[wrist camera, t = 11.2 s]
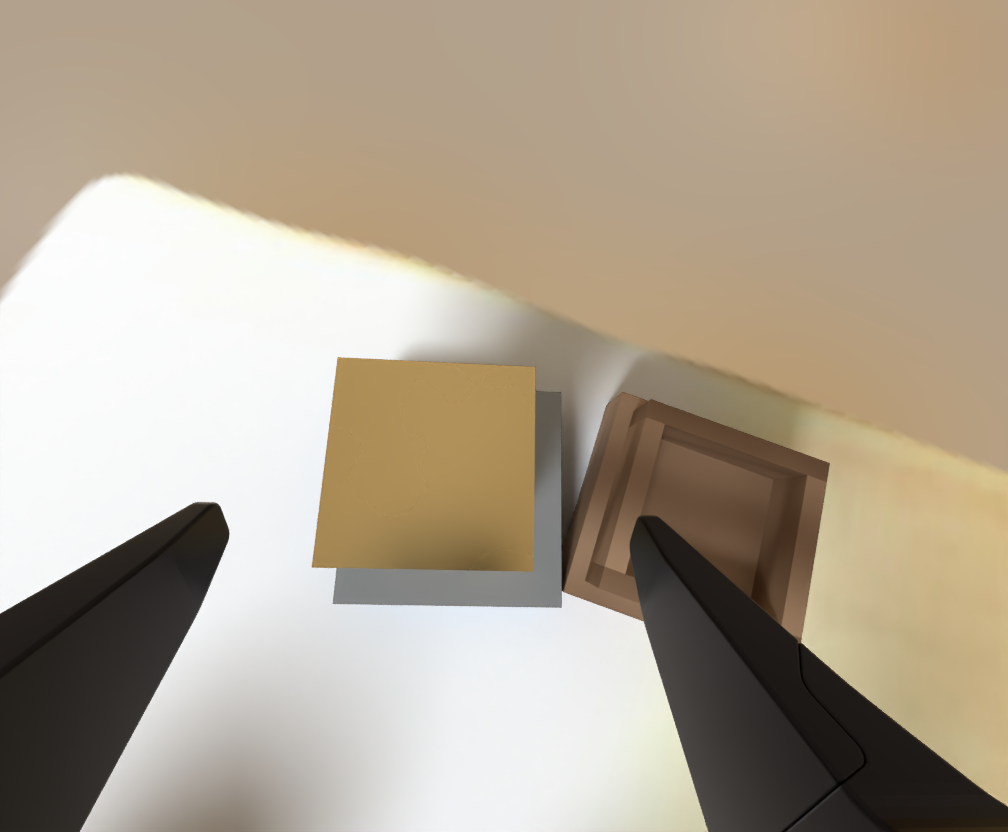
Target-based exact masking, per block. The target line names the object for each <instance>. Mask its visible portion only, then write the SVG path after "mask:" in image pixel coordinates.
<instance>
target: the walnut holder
mask: <svg viewBox="0 0 1008 832" xmlns="http://www.w3.org/2000/svg"><path fill="white" fill-rule="evenodd" d="M829 465H830V463H828V462H825V461H822V460H819V459H816V458H814V457H811V456H808V455H805V454H803V453H800V452H797V451H794V450H791V449H789V448H786V447H783V446H780V445H777V444H775V443H772V442H769V441H766V440H763V439H761V438H758V437H755V436H752V435H749V434H747V433H744V432H741V431H738V430H735V429H733V428H730V427H727V426H724V425H721V424H719V423H716V422H713V421H710V420H707V419H705V418H702V417H699V416H696V415H693V414H691V413H688V412H685V411H682V410H679V409H677V408H674V407H671V406H668V405H665V404H663V403H660V402H657V401H654V400H649V401H647V400H644V399H641V398H638V397H635V396H633V395H630V394H627V393H624V392H622V393H621V394H620V395H619V396H618V397H616V398H615V399H614V400H613V401H612V402H610V403H609V404H608V405H607V406H606V409H605V412H604V415H603V419H602V422H601V425H600V429H599V432H598V435H597V438H596V442H595V445H594V448H593V452H592V455H591V458H590V461H589V465H588V468H587V471H586V475H585V478H584V481H583V484H582V488H581V491H580V494H579V498H578V501H577V504H576V508H575V511H574V514H573V517H572V521H571V524H570V527H569V531H568V534H567V537H566V540H565V544H564V547H563V550H562V554H561V570H562V591H563V592H565V593H568V594H570V595H573V596H576V597H579V598H581V599H584V600H587V601H590V602H592V603H595V604H598V605H600V606H603V607H606V608H609V609H611V610H614V611H617V612H620V613H622V614H625V615H628V616H631V617H633V618H636V619H639V620H641V621H644V620H643V616H642V612H641V607H640V602H639V597H638V592H637V586H636V581H635V576H634V571H633V565H632V560H631V555H630V548H629V544H630V539H631V536H632V532H633V529H634V526H635V523H636V520H637V518H638V517H639V516H640V515H655V516H658V517H660V518H661V519H662V520H663V521H664V522H665V523H667V524H668V525H669V526H670V527H671V528H672V529H673V530H674V531H676V532H677V533H678V534H679V535H680V536H681V537H682V538H683V539H685V540H686V541H687V542H688V543H689V544H690V545H691V546H692V547H694V548H695V549H696V550H697V551H698V552H699V553H700V554H702V555H703V556H704V557H705V558H706V559H707V560H708V561H709V562H711V563H712V564H713V565H714V566H715V567H716V568H717V569H718V570H720V571H721V572H722V573H723V574H724V575H725V576H726V577H727V578H729V579H730V580H731V581H732V582H733V583H734V584H735V585H736V586H738V587H739V588H740V589H741V590H742V591H743V592H744V593H746V594H747V595H748V596H749V597H750V598H751V599H752V600H753V601H755V602H756V603H757V604H758V605H759V606H760V607H761V608H762V609H764V610H765V611H766V612H767V613H768V614H769V615H770V616H771V617H773V618H774V619H775V620H776V621H777V622H778V623H779V624H781V625H782V626H783V627H784V628H785V629H786V630H787V631H788V632H790V633H791V634H792V635H793V636H794V637H795V638H796V639H797V640H798V643H801V639H802V632H803V626H804V620H805V614H806V608H807V601H808V595H809V589H810V583H811V576H812V570H813V564H814V558H815V552H816V545H817V539H818V533H819V527H820V521H821V514H822V508H823V502H824V496H825V490H826V483H827V477H828V471H829Z"/></svg>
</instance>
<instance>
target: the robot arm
mask: <svg viewBox="0 0 1008 832" xmlns="http://www.w3.org/2000/svg"><path fill="white" fill-rule="evenodd" d="M228 540H229V528H228V526H227V523H226V520H225V518H224V515H223V512H222V510H221V507H220V506H219V505H218V504H217V503H214V502H196V503H193V504H191V505H189V506H187V507H186V508H184V509H182V510H180V511H179V512H177V513H175V514H173V515H172V516H170V517H168V518H166V519H165V520H163V521H161V522H159V523H158V524H156V525H154V526H152V527H151V528H149V529H147V530H145V531H144V532H142V533H140V534H139V535H137V536H135V537H133V538H132V539H130V540H128V541H126V542H125V543H123V544H121V545H119V546H118V547H116V548H114V549H112V550H111V551H109V552H107V553H105V554H104V555H102V556H100V557H98V558H97V559H95V560H93V561H91V562H90V563H88V564H86V565H84V566H83V567H81V568H79V569H77V570H76V571H74V572H72V573H70V574H69V575H67V576H65V577H63V578H62V579H60V580H58V581H56V582H55V583H53V584H51V585H49V586H48V587H46V588H44V589H42V590H41V591H39V592H37V593H35V594H34V595H32V596H30V597H28V598H27V599H25V600H23V601H21V602H20V603H18V604H16V605H15V606H13V607H11V608H9V609H8V610H6V611H4V612H2V613H1V614H0V832H80V830H81V828H82V827H83V825H84V823H85V821H86V819H87V817H88V816H89V814H90V812H91V810H92V808H93V806H94V804H95V803H96V801H97V799H98V797H99V795H100V793H101V791H102V790H103V788H104V786H105V784H106V782H107V780H108V779H109V777H110V775H111V773H112V771H113V769H114V767H115V766H116V764H117V762H118V760H119V758H120V756H121V754H122V753H123V751H124V749H125V747H126V745H127V743H128V741H129V740H130V738H131V736H132V734H133V732H134V730H135V729H136V727H137V725H138V723H139V721H140V719H141V717H142V716H143V714H144V712H145V710H146V708H147V706H148V704H149V703H150V701H151V699H152V697H153V695H154V693H155V692H156V690H157V688H158V686H159V684H160V682H161V680H162V679H163V677H164V675H165V673H166V671H167V669H168V667H169V666H170V664H171V662H172V660H173V658H174V656H175V655H176V653H177V651H178V649H179V647H180V645H181V643H182V642H183V640H184V638H185V636H186V634H187V632H188V630H189V629H190V627H191V625H192V623H193V621H194V619H195V617H196V615H197V613H198V611H199V609H200V607H201V605H202V603H203V601H204V598H205V596H206V594H207V591H208V589H209V586H210V584H211V581H212V579H213V577H214V574H215V572H216V569H217V567H218V565H219V562H220V560H221V557H222V555H223V552H224V550H225V548H226V545H227V543H228ZM629 548H630V555H631V560H632V565H633V571H634V576H635V581H636V586H637V592H638V597H639V602H640V607H641V612H642V616H643V620H644V624H645V627H646V630H647V634H648V637H649V640H650V643H651V647H652V650H653V653H654V657H655V660H656V663H657V666H658V670H659V673H660V676H661V679H662V683H663V686H664V689H665V692H666V696H667V699H668V702H669V705H670V709H671V712H672V715H673V718H674V722H675V725H676V728H677V731H678V735H679V738H680V741H681V744H682V748H683V751H684V754H685V757H686V761H687V764H688V767H689V770H690V774H691V777H692V780H693V783H694V787H695V790H696V793H697V796H698V800H699V803H700V806H701V809H702V813H703V816H704V819H705V822H706V826H707V829H708V832H1008V807H1007V806H1006V805H1004V804H1003V803H1001V802H1000V801H998V800H997V799H995V798H994V797H992V796H991V795H989V794H988V793H987V792H985V791H984V790H983V789H981V788H980V787H979V786H977V785H976V784H975V783H973V782H972V781H971V780H969V779H968V778H967V777H966V776H964V775H963V774H962V773H960V772H959V771H958V770H957V769H955V768H954V767H953V766H952V765H950V764H949V763H948V762H946V761H945V760H944V759H943V758H941V757H940V756H939V755H937V754H936V753H935V752H934V751H932V750H931V749H930V748H929V747H927V746H926V745H925V744H923V743H922V742H921V741H920V740H918V739H917V738H916V737H915V736H913V735H912V734H911V733H909V732H908V731H907V730H906V729H904V728H903V727H902V726H901V725H899V724H898V723H897V722H895V721H894V720H893V719H892V718H890V717H889V716H888V715H887V714H885V713H884V712H883V711H882V710H880V709H879V708H878V707H877V706H875V705H874V704H873V703H872V702H870V701H869V700H868V699H867V698H865V697H864V696H863V695H862V694H860V693H859V692H858V691H857V690H855V689H854V688H853V687H852V686H851V685H849V684H848V683H847V682H846V681H845V680H844V679H842V678H841V677H840V676H839V675H838V674H837V673H835V672H834V671H833V670H832V669H831V668H830V667H828V666H827V665H826V664H825V663H824V662H823V661H821V660H820V659H819V658H818V657H817V656H816V655H815V654H813V653H812V652H811V651H810V650H809V649H808V648H807V647H806V646H804V645H803V644H802V643H798V640H797V639H796V638H795V637H794V636H793V635H792V634H791V633H790V632H788V631H787V630H786V629H785V628H784V627H783V626H782V625H781V624H779V623H778V622H777V621H776V620H775V619H774V618H773V617H771V616H770V615H769V614H768V613H767V612H766V611H765V610H764V609H762V608H761V607H760V606H759V605H758V604H757V603H756V602H755V601H753V600H752V599H751V598H750V597H749V596H748V595H747V594H746V593H744V592H743V591H742V590H741V589H740V588H739V587H738V586H736V585H735V584H734V583H733V582H732V581H731V580H730V579H729V578H727V577H726V576H725V575H724V574H723V573H722V572H721V571H720V570H718V569H717V568H716V567H715V566H714V565H713V564H712V563H711V562H709V561H708V560H707V559H706V558H705V557H704V556H703V555H702V554H700V553H699V552H698V551H697V550H696V549H695V548H694V547H692V546H691V545H690V544H689V543H688V542H687V541H686V540H685V539H683V538H682V537H681V536H680V535H679V534H678V533H677V532H676V531H674V530H673V529H672V528H671V527H670V526H669V525H668V524H667V523H665V522H664V521H663V520H662V519H661V518H660V517H658V516H655V515H640V516H639V517H638V518H637V520H636V523H635V526H634V529H633V532H632V536H631V539H630V544H629Z"/></svg>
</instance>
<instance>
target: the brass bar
mask: <svg viewBox="0 0 1008 832" xmlns="http://www.w3.org/2000/svg"><path fill="white" fill-rule="evenodd" d="M535 372H536V367H528V366H508V365H487V364H466V363H445V362H424V361H403V360H382V359H361V358H340V357H338V359H337V367H336V376H335V384H334V392H333V400H332V408H331V416H330V424H329V432H328V440H327V449H326V457H325V465H324V473H323V481H322V489H321V497H320V505H319V513H318V522H317V530H316V538H315V546H314V554H313V562H312V567H316V568H368V569H419V570H471V571H522V572H534V478H535Z"/></svg>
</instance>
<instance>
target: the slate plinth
mask: <svg viewBox="0 0 1008 832" xmlns="http://www.w3.org/2000/svg"><path fill="white" fill-rule="evenodd" d="M333 604H372V605H435V606H497V607H559V608H562V570H561V392H542V391H535V478H534V572H522V571H471V570H419V569H368V568H337V570H336V579H335V588H334V597H333Z"/></svg>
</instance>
